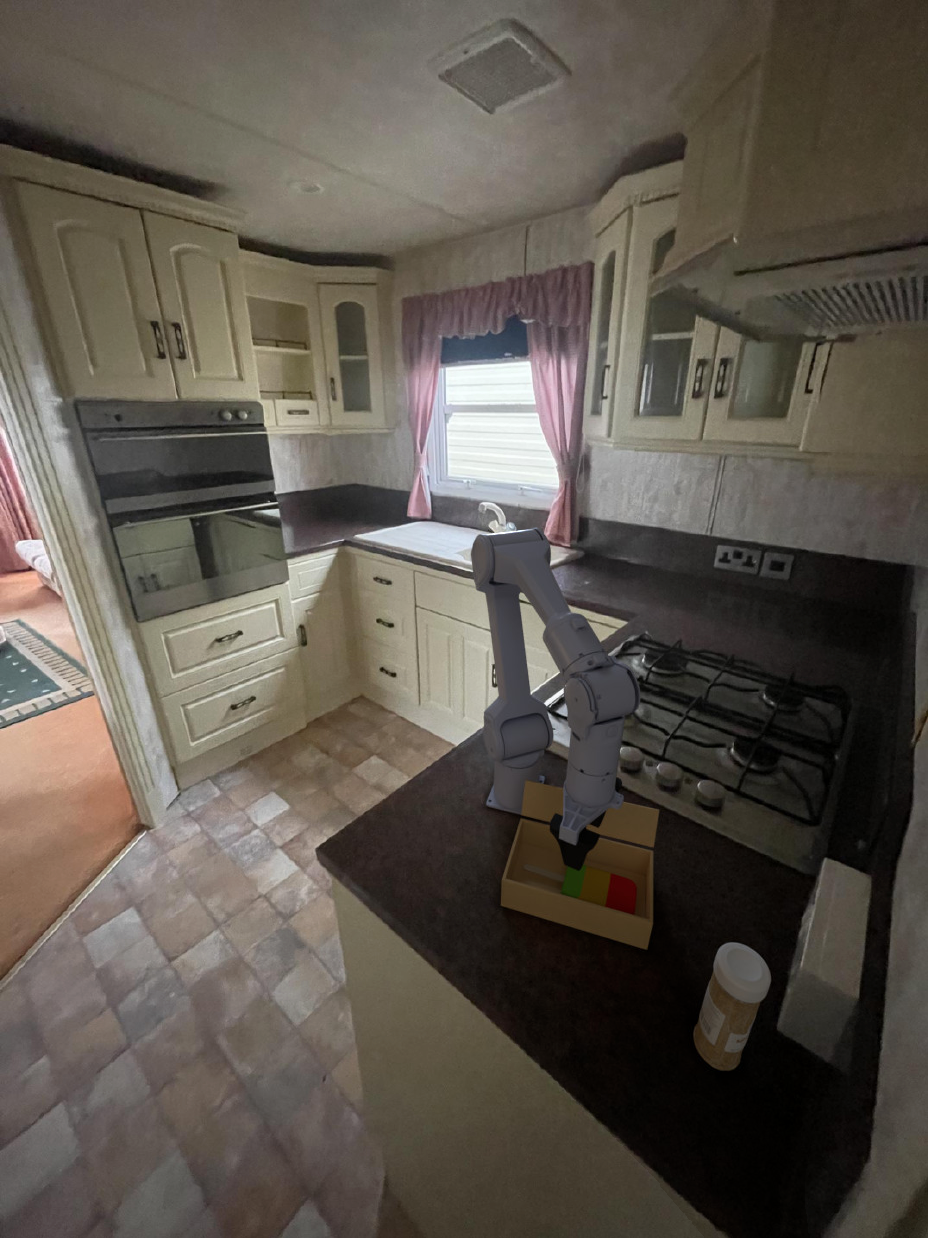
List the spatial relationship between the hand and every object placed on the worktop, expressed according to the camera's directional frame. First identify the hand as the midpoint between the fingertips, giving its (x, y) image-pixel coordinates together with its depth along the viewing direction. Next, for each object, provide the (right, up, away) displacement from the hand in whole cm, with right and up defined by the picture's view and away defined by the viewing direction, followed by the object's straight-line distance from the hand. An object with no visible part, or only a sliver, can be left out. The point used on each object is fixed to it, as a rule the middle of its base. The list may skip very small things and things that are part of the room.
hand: (582, 843), depth 66 cm
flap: (+2, +2, +6) cm, 6 cm away
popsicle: (0, -8, +4) cm, 9 cm away
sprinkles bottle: (+11, -16, -13) cm, 23 cm away
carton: (0, -8, +4) cm, 9 cm away
